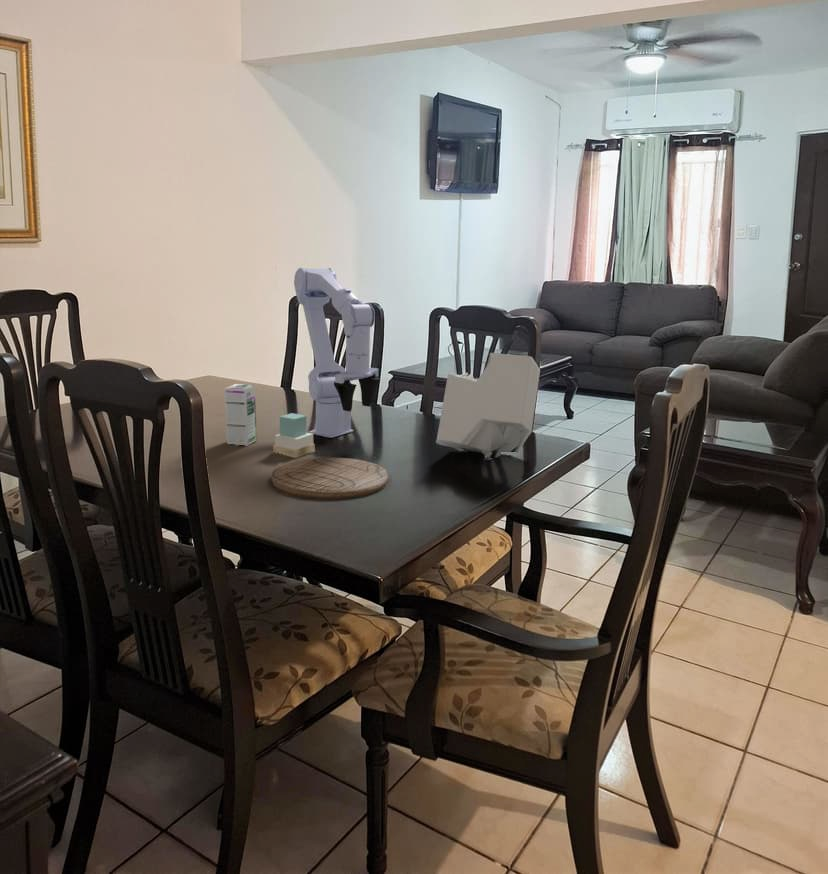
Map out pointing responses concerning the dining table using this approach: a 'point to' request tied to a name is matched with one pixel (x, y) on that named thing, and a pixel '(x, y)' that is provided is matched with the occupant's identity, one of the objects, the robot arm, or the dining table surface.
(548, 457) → the dining table surface
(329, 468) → the trivet
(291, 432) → the teal cube
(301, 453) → the tower base
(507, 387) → the grey stepped panel block
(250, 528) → the dining table surface
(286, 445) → the tower top
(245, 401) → the syrup box
